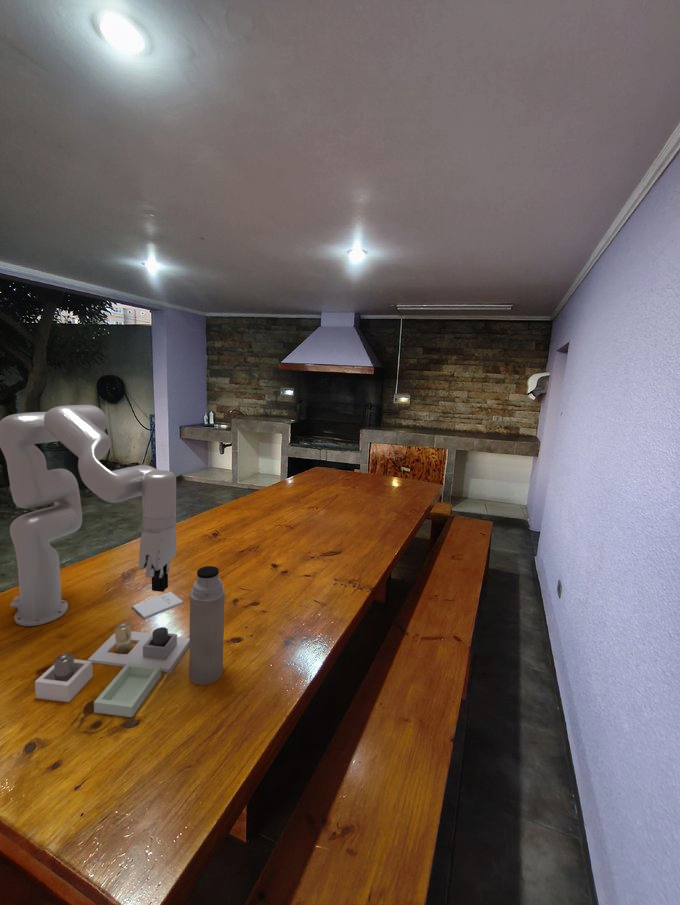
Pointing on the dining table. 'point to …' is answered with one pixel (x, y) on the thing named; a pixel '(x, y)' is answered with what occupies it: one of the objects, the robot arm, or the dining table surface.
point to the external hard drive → (156, 605)
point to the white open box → (63, 682)
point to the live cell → (123, 637)
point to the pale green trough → (127, 690)
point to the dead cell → (64, 667)
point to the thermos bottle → (206, 627)
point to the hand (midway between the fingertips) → (159, 589)
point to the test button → (160, 637)
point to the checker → (144, 652)
